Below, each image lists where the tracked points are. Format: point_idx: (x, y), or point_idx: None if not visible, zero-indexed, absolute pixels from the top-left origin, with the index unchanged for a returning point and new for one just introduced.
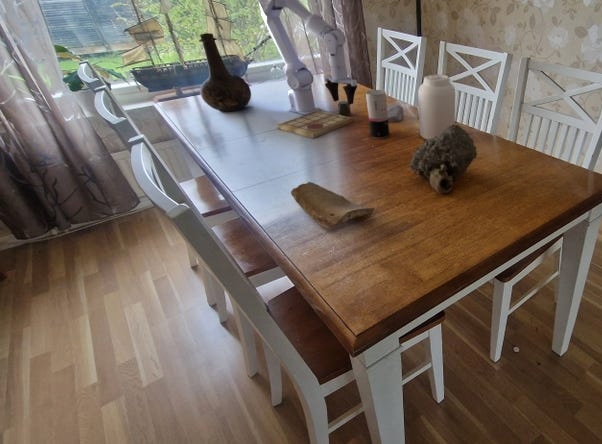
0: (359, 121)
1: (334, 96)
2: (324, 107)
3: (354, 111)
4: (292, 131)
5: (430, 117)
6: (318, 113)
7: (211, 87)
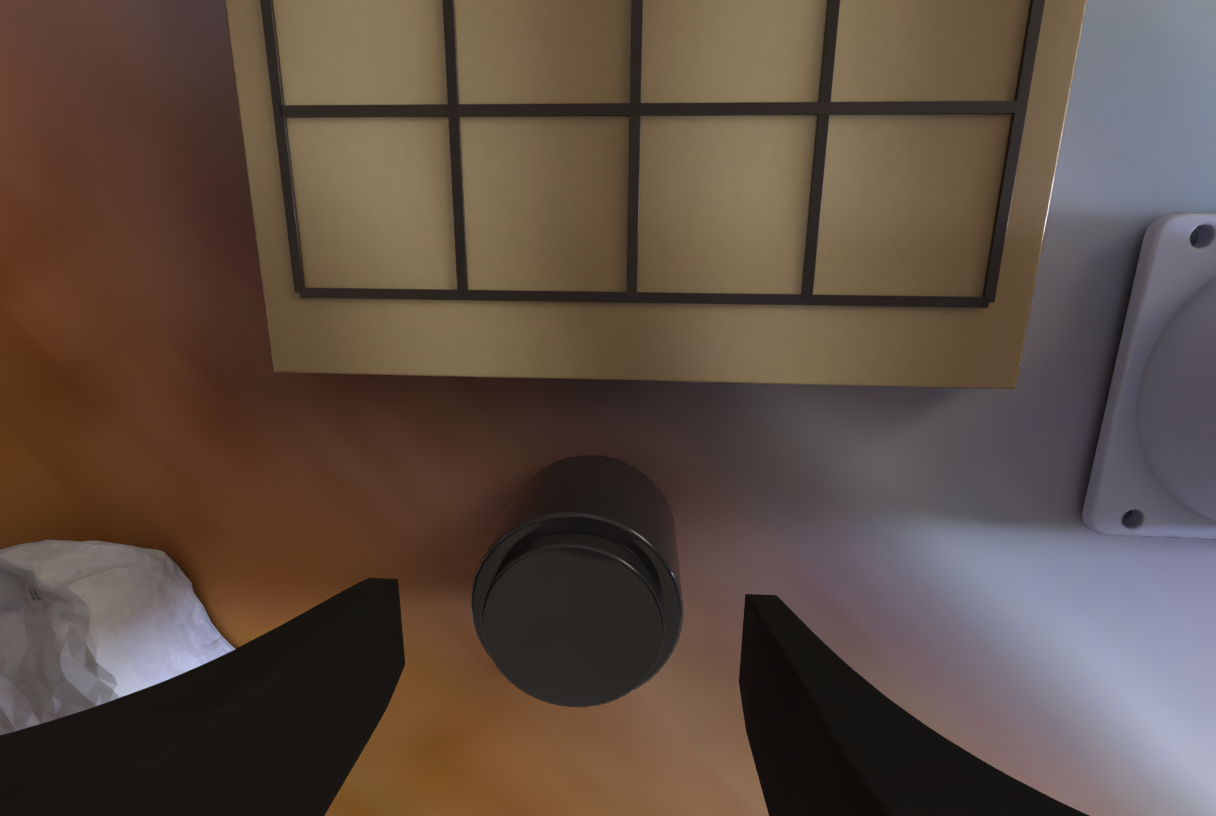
0: (247, 415)
1: (768, 667)
2: (1090, 630)
3: None
4: None
5: None
6: (888, 254)
7: None
